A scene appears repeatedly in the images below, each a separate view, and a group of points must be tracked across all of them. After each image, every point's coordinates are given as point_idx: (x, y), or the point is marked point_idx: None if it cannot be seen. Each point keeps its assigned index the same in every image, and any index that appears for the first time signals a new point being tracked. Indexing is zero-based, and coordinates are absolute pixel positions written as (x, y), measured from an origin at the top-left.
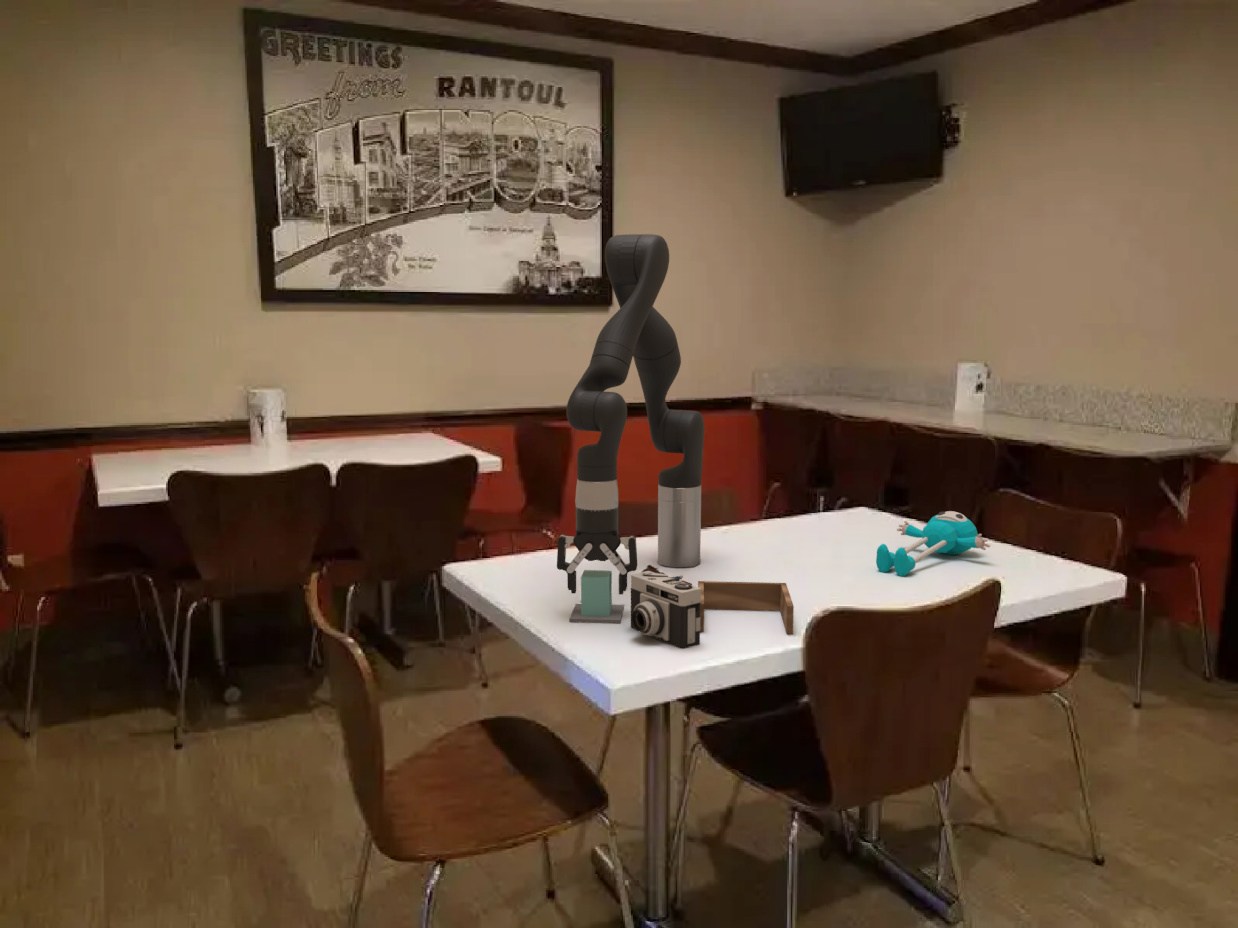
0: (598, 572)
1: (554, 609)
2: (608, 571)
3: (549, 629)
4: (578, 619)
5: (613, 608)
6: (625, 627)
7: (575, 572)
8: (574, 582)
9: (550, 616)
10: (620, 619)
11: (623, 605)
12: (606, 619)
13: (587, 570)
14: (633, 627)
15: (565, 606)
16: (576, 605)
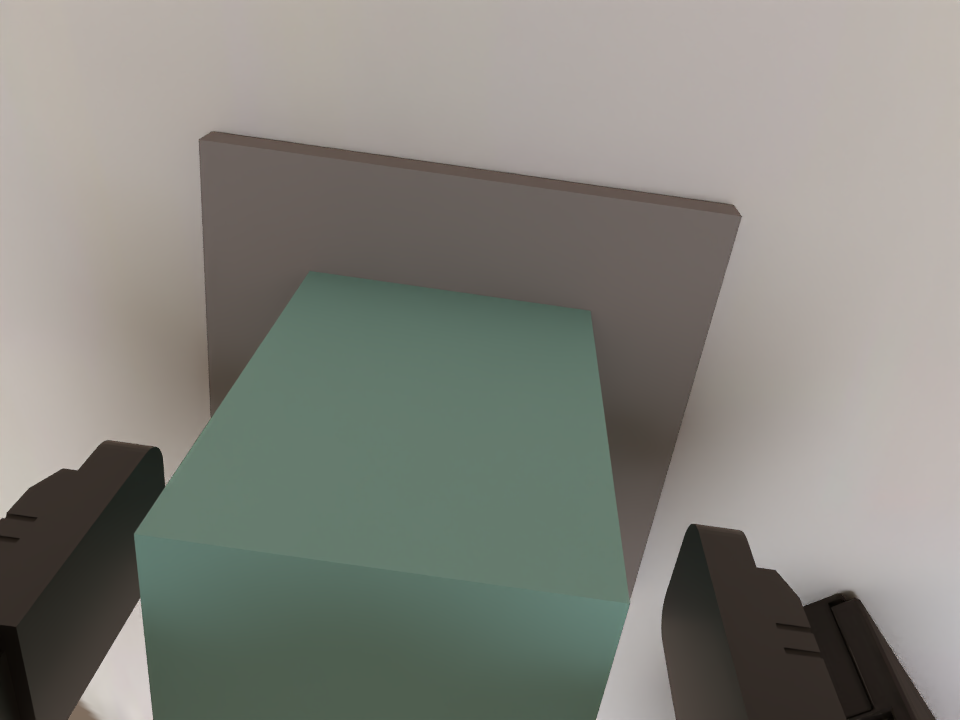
0: (395, 676)
1: (15, 200)
2: (566, 643)
3: (115, 644)
4: None
5: (606, 327)
6: (649, 656)
7: (30, 700)
8: (100, 656)
9: (40, 394)
10: (629, 597)
11: (729, 236)
12: None
13: (196, 561)
14: None
15: (101, 102)
16: (219, 209)
